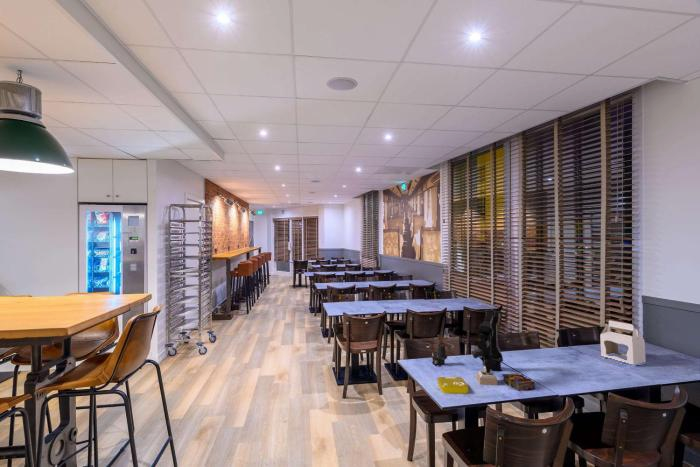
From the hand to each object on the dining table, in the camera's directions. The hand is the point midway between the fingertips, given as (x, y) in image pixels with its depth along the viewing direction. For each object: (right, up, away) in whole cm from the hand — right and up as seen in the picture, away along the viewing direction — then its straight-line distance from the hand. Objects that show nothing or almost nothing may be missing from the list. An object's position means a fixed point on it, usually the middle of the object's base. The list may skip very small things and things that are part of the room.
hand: (486, 371), depth 207 cm
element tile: (-24, -7, -9) cm, 26 cm away
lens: (0, -2, 0) cm, 2 cm away
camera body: (0, -7, 0) cm, 7 cm away
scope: (-20, -9, +32) cm, 39 cm away
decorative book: (+17, -7, -5) cm, 19 cm away
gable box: (+115, -8, +37) cm, 121 cm away
